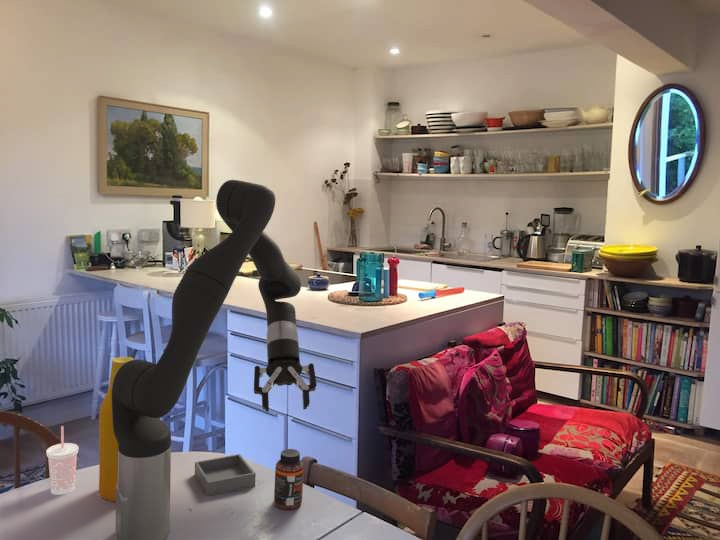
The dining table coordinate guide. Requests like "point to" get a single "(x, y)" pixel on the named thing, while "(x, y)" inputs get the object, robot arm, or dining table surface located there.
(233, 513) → the dining table surface
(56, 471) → the beverage cup
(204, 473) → the tray
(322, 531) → the dining table surface
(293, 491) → the supplement bottle
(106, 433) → the yellow bottle
